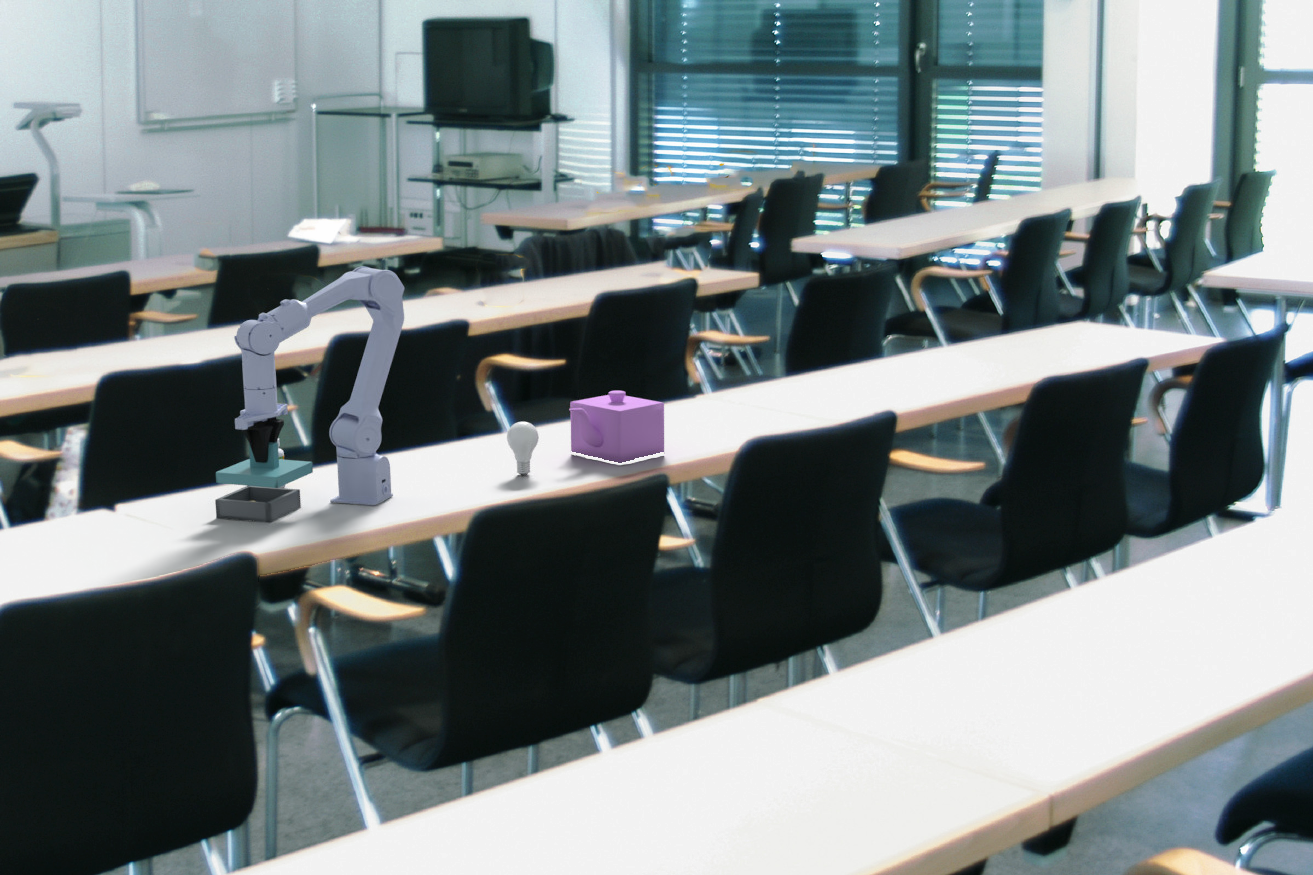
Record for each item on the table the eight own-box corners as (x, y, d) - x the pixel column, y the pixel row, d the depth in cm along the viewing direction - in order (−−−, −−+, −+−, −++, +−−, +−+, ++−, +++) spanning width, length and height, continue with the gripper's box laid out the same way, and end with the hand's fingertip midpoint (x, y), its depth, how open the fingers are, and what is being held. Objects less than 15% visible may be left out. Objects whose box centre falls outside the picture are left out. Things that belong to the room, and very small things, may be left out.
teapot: (546, 461, 329) (544, 395, 326) (630, 442, 346) (630, 380, 343) (595, 472, 318) (594, 405, 316) (680, 453, 336) (680, 388, 333)
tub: (300, 507, 292) (299, 489, 291) (269, 522, 282) (268, 503, 281) (248, 503, 295) (247, 485, 294) (216, 518, 285) (215, 499, 284)
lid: (312, 472, 288) (311, 437, 287) (277, 488, 277) (275, 452, 276) (253, 467, 292) (251, 433, 291) (216, 482, 281) (214, 447, 279)
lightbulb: (502, 477, 315) (500, 423, 312) (516, 470, 320) (515, 417, 318) (530, 479, 312) (529, 426, 310) (544, 472, 318) (543, 419, 316)
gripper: (262, 379, 289) (266, 450, 292) (218, 393, 275) (223, 468, 278) (296, 381, 287) (300, 453, 290) (253, 395, 273) (257, 470, 276)
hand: (264, 460), depth 284 cm, fingers closed on lid
